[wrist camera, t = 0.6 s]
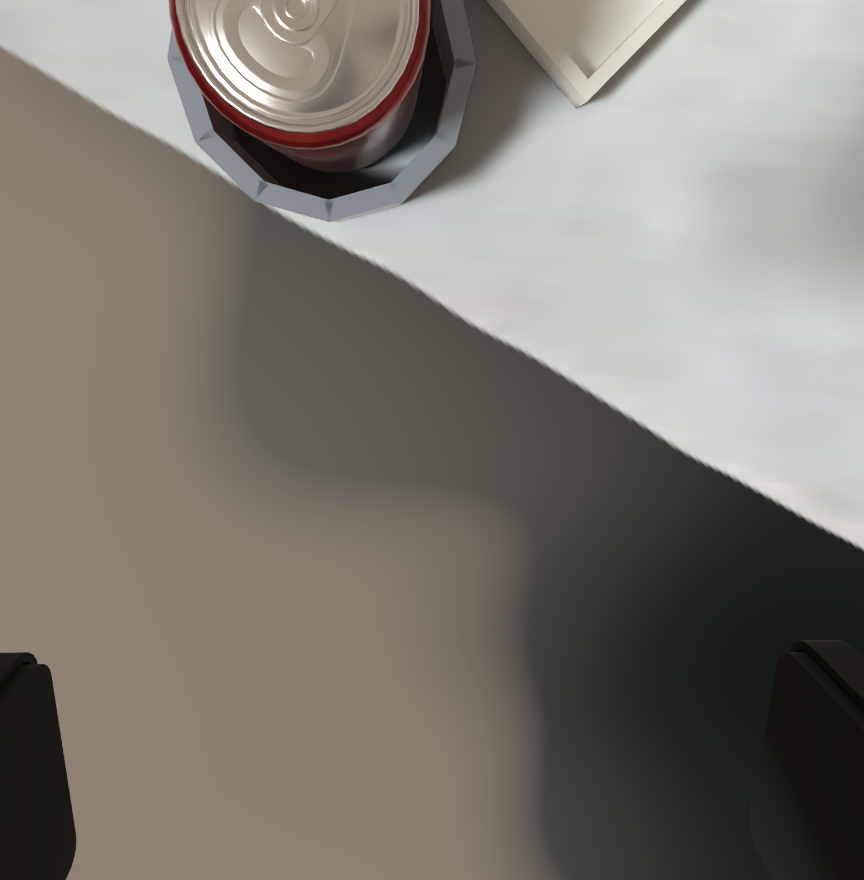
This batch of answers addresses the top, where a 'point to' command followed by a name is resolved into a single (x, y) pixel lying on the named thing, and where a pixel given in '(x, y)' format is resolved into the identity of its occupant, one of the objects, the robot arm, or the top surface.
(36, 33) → the top surface
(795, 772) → the robot arm
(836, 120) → the top surface
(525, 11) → the tray
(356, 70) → the soda can
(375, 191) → the holder
